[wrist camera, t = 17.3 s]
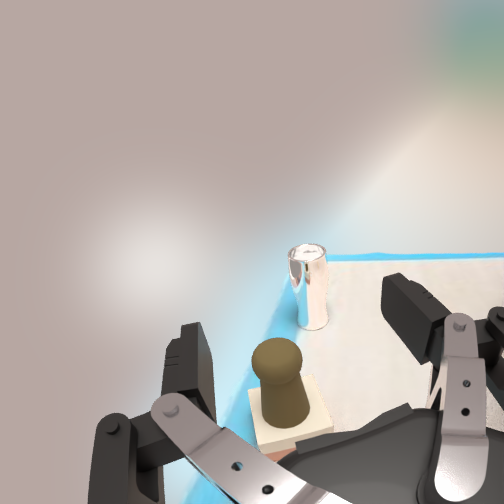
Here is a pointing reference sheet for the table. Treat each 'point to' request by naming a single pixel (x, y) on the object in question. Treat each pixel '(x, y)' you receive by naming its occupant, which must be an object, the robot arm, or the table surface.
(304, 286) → the beer glass
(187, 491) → the table surface
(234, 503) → the robot arm
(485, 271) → the table surface
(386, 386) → the table surface
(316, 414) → the brick base
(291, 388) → the cork
